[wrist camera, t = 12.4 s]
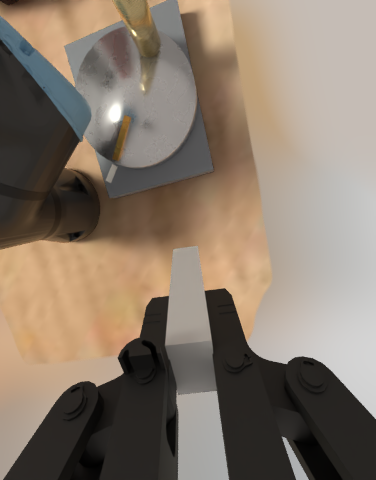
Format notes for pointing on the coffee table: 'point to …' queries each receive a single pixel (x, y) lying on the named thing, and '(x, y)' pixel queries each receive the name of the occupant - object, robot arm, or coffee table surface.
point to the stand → (196, 147)
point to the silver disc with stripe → (137, 91)
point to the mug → (8, 1)
